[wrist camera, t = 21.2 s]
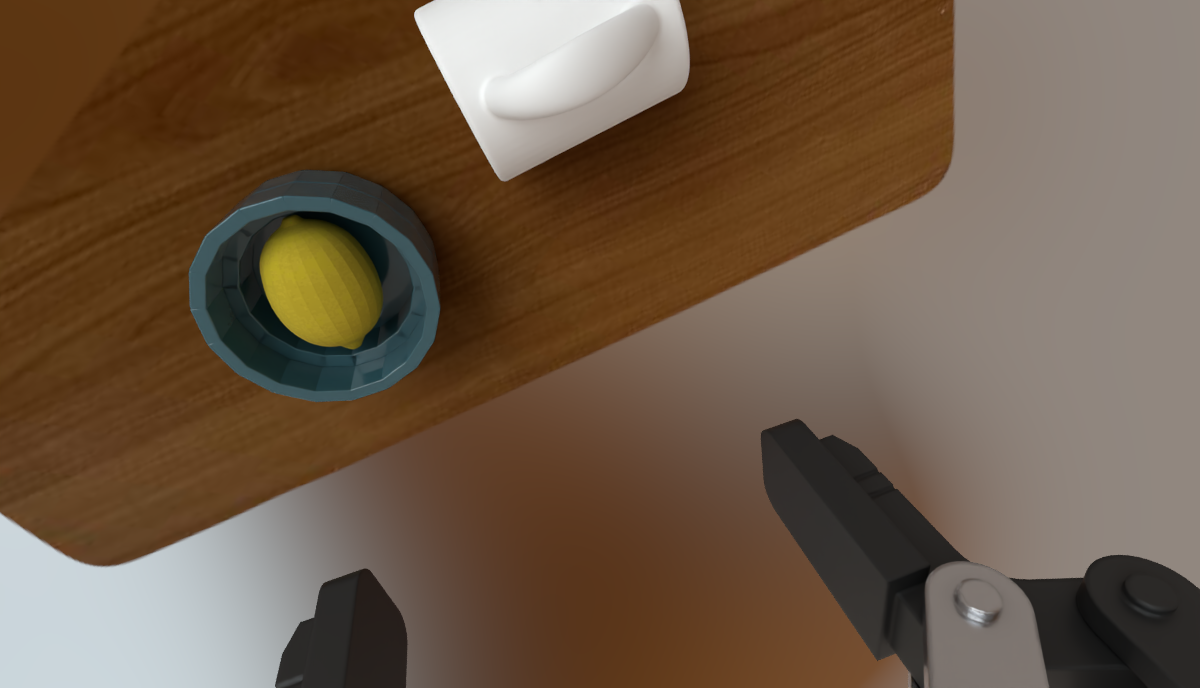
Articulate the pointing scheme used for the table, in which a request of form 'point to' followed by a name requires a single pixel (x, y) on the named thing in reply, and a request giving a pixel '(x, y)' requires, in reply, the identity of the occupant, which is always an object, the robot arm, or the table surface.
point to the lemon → (321, 282)
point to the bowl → (257, 336)
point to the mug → (553, 68)
